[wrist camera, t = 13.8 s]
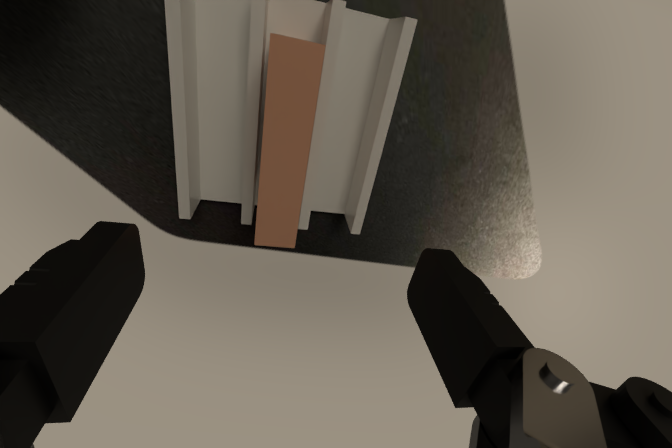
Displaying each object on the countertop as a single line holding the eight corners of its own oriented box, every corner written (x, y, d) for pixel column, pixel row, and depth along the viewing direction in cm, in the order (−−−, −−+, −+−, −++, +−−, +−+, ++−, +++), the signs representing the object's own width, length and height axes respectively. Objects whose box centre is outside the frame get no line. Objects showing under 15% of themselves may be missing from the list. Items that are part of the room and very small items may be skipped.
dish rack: (183, -30, 20) (157, -47, 16) (396, 23, 24) (420, 20, 19) (192, 190, 28) (176, 218, 24) (351, 207, 31) (361, 234, 27)
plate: (276, 33, 22) (270, 32, 13) (310, 41, 22) (325, 44, 14) (263, 179, 27) (254, 244, 19) (291, 182, 28) (294, 247, 19)
